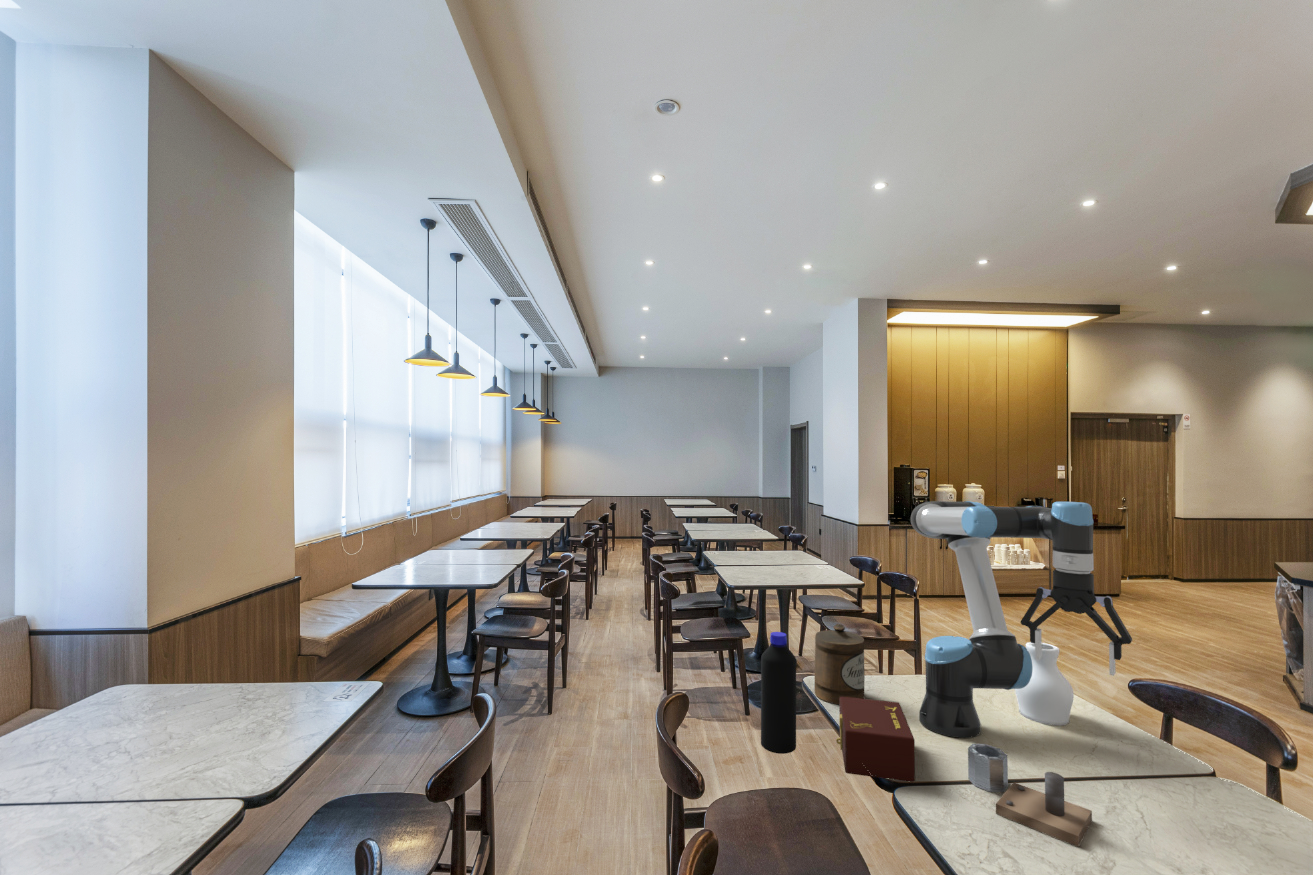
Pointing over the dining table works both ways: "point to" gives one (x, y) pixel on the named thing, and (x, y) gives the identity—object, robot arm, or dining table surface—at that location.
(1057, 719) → the vase
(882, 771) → the box
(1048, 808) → the shaft block
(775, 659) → the bottle
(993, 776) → the hub
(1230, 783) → the dining table surface
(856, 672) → the wooden container
